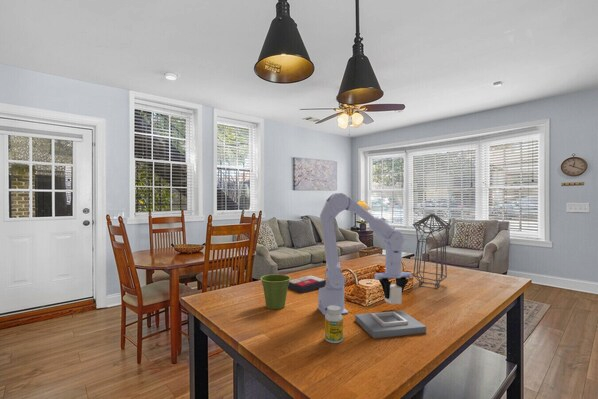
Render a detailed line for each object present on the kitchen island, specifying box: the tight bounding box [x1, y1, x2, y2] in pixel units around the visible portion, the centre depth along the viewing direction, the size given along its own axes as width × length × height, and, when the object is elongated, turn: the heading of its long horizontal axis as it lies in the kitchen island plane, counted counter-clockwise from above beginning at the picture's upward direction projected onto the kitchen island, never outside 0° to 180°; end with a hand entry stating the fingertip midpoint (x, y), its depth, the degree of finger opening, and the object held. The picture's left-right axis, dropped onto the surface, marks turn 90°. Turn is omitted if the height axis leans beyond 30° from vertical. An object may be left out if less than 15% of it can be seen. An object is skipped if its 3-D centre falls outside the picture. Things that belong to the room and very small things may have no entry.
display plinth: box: [354, 310, 427, 339], centre depth 101 cm, size 18×14×3 cm
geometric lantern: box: [412, 213, 452, 290], centre depth 148 cm, size 16×16×35 cm
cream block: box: [384, 283, 403, 305], centre depth 116 cm, size 4×4×6 cm
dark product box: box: [288, 275, 327, 294], centre depth 144 cm, size 11×4×15 cm
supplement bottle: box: [324, 305, 344, 344], centre depth 92 cm, size 5×5×10 cm
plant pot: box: [259, 273, 292, 311], centre depth 119 cm, size 12×12×11 cm
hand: (393, 297), depth 116 cm, fingers closed on cream block, 4 cm apart
